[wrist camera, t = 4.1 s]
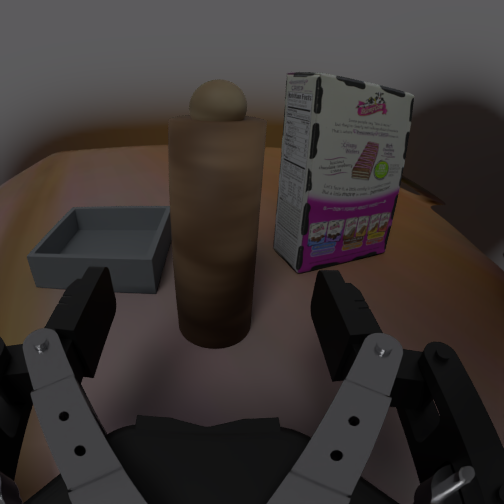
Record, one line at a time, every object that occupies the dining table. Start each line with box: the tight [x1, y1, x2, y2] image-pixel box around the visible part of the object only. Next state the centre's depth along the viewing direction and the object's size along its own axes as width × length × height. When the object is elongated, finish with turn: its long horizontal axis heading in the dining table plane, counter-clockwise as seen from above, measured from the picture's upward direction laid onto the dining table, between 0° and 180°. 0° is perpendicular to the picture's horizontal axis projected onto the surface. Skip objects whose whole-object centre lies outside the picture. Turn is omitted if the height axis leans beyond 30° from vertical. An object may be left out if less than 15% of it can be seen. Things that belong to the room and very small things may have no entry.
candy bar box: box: [274, 72, 414, 273], centre depth 27 cm, size 11×5×16 cm, turn 115°
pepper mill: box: [168, 80, 267, 349], centre depth 17 cm, size 5×5×15 cm
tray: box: [27, 206, 172, 294], centre depth 26 cm, size 11×10×3 cm
